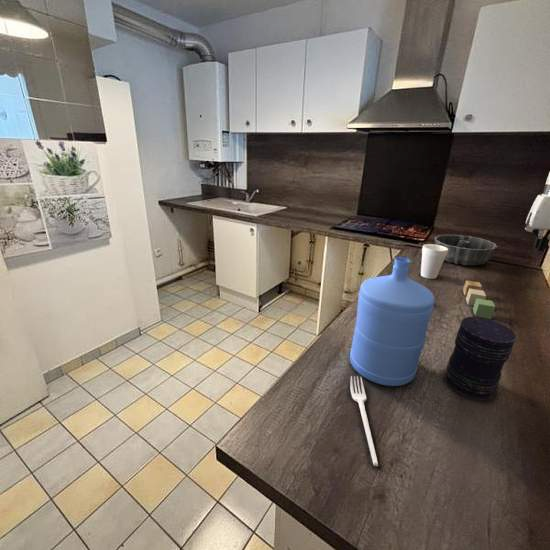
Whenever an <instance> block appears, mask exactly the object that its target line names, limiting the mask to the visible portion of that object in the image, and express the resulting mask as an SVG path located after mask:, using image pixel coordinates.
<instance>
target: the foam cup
mask: <svg viewBox="0 0 550 550" xmlns="http://www.w3.org/2000/svg"><path fill="white" fill-rule="evenodd" d="M447 253H448V248H446V247H444V246H440V245H435V243H434V244H433V243H426V244H423V245H422V248H421V263H420V276H421V277H422V278H425V279H430V280H434V279H437V278H438V275H439V274H440V271H441V268H442V266H443V264H444V262H445V261H444V259H445V257H446V255H447Z"/></svg>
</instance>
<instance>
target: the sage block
mask: <svg viewBox="0 0 550 550" xmlns="http://www.w3.org/2000/svg"><path fill="white" fill-rule="evenodd" d="M495 309H496V305H495V303H494V302H493V300H489V299H485V300H484V299H478V298H476V301H475V304H474V306H473V308H472V312H473V315H474V317H481V318H486V319H490V320H492V318H493V315H494V312H495Z"/></svg>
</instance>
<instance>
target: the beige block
mask: <svg viewBox="0 0 550 550" xmlns="http://www.w3.org/2000/svg"><path fill="white" fill-rule="evenodd" d="M476 298H478V299H484V300H486V298H487V295H486V293H485V290H483V289H481V290H476V289H469V290H468V294H467V296H465V301H466V304H467V305H468V306H473V307H474V304H475V301H476Z"/></svg>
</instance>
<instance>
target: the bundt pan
mask: <svg viewBox="0 0 550 550" xmlns="http://www.w3.org/2000/svg"><path fill="white" fill-rule="evenodd" d="M434 244H435V245H440V246H444V247H446V248H448V253H447V255H446V257H445V259H444V262H447V263H452V264H453V263H454V264H455V265H462V266H471V267H476V266H481V265H483V264H486V263H488V262H489V261H490V260H491V259H492V256H493V255H494V253H495V251H496V249H498V246H497V243H495V242H493V241H491V240H488V239H484V238H480V237H476V236H470V235H462V234H440V235H437V236H434Z"/></svg>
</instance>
